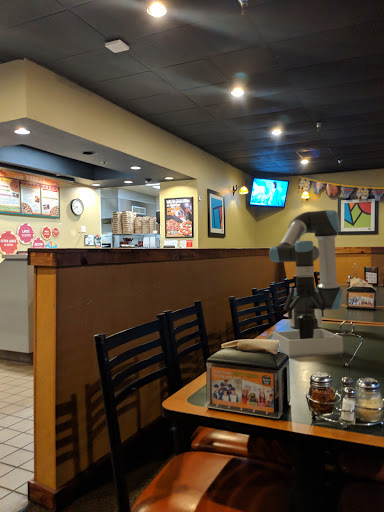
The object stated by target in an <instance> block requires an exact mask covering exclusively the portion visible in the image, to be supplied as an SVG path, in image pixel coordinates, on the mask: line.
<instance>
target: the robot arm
mask: <svg viewBox="0 0 384 512" xmlns="http://www.w3.org/2000/svg"><path fill="white" fill-rule="evenodd" d="M339 232H341V220H340V216H339V213H338V211H336V210H332V209H331V210H327V209H326V210H317V211H315V210H313V211H306V212H301V213H299V215H297V216H295V217H294V218H293V219H292V220H290V223H289V224H288V228H287V231H286V233H285V234H284V236H283V237H282V239H281V240H280V242H279V244H278V245H275V246H271V247H270V249H269V253H268V255H269V260H270V261H271V262H274V263H294V262H295V276H296V277H295V283H296V284H295V285H296V287H294V288H293V287H290V288H289V290H288V291H289V293H288V295H287V298H286V300H285V303H284V306H283V310H285V311H287V318H288V319H289V327H290V328H292V329H293V330H294V329H296V330H299V326H298V318H297V316H300V315H302V314H305V302H306V304H307V314H309V315H312V316H314V317H315V319H314V329H319V326H323V318H324V314H325V313H324V311H327V310H328V311H339V310H340V309H341V308H342V305H343V302H344V301H343V300H344V288H342V287H341V284H339V283H338V281H337V261H336V260H337V259H336V258H337V257H336V237H338V235H339V234H338V233H339ZM305 234H314V237H315V238H316V240H317V245H318V247H317V246H315V245H314V242H313V240H301V237H303V236H304V235H305ZM317 260H318V268H319V283H318V284H317V286H315V278H314V275H315V271H314V267H315V266H314V262H316V261H317ZM316 314H317V316H316Z"/></svg>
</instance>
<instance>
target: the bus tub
mask: <svg viewBox="0 0 384 512" xmlns="http://www.w3.org/2000/svg"><path fill="white" fill-rule="evenodd" d="M335 334H336V333H333V332H331V331H328V330H327V329H323V328H317V329H314V334H313V338H312V339H300V334H299V329H297V330H286V331H285V330H284V331H272V340H273V339H274V340H279V341H280V346H279V351H280V352H279V351H278V352H279V353H281V352H283V353H286V354H288V355H289V357H293V358H302V357H303V358H304V357H315V356H328V355H329V356H330V355H342V354H344V337H343V336H342V335H339V334H336V336H335V337H334V338H333V336H334V335H335ZM339 353H341V354H339ZM289 357H288V358H289Z"/></svg>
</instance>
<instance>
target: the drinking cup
mask: <svg viewBox="0 0 384 512" xmlns="http://www.w3.org/2000/svg"><path fill="white" fill-rule="evenodd" d="M297 318H298V326H299V329H298V330H299V334H300V339H312V338H313V334H314V319H315V317H314V316H312V315H309V314H307V304H306V302H305V314H302V315H300V316H297Z"/></svg>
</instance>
